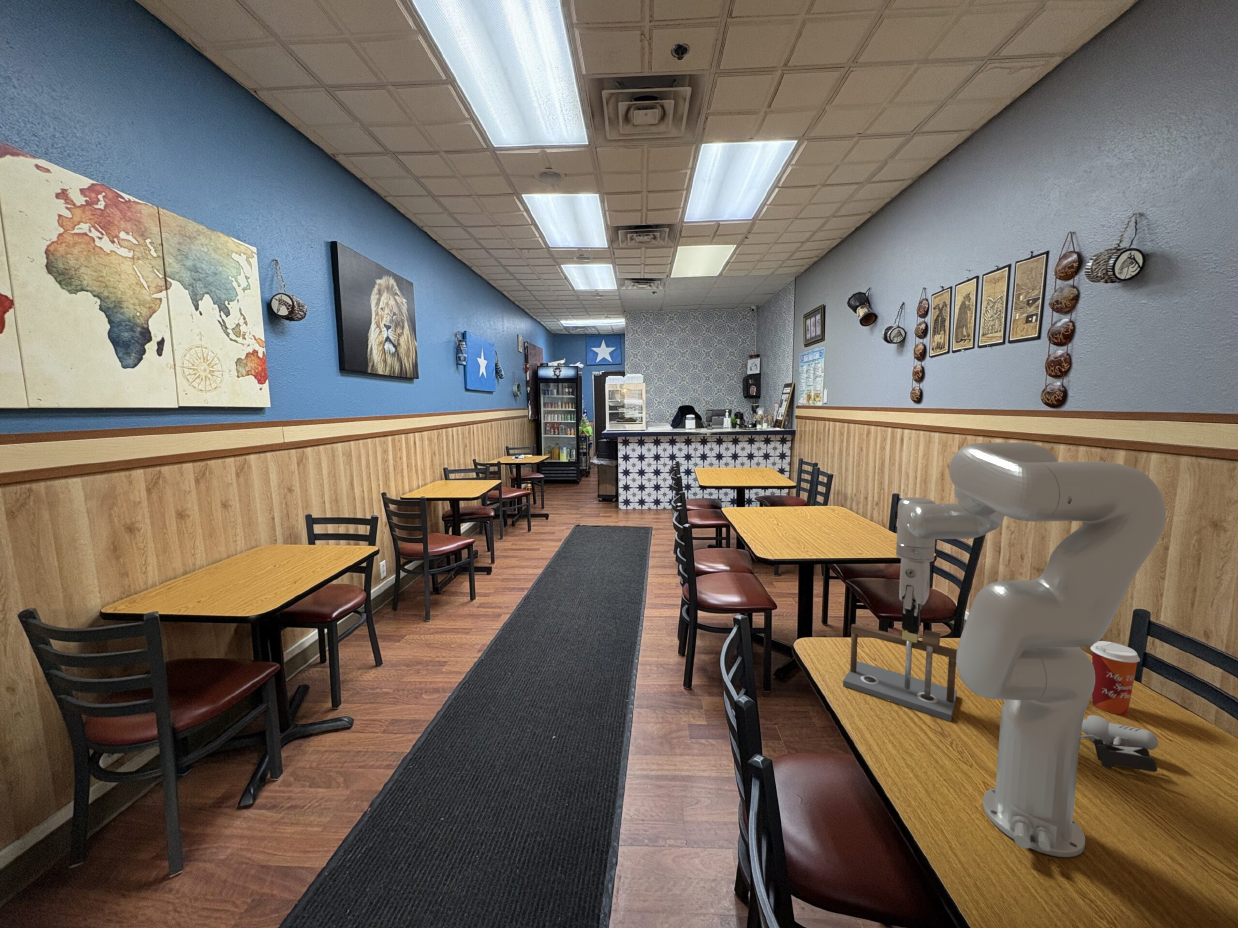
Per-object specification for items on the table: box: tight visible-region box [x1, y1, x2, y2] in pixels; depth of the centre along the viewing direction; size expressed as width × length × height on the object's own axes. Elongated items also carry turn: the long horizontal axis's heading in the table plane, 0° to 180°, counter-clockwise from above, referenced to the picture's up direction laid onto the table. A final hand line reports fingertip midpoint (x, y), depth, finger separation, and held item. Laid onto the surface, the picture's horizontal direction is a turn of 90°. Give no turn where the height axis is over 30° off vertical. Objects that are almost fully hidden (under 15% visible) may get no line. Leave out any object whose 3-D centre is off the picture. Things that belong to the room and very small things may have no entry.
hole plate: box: [842, 660, 958, 722], centre depth 116 cm, size 12×22×2 cm, turn 50°
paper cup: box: [1090, 640, 1141, 716], centre depth 107 cm, size 8×8×14 cm
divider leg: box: [901, 605, 921, 690], centre depth 113 cm, size 4×3×20 cm
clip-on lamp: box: [1080, 714, 1159, 773], centre depth 96 cm, size 12×6×18 cm
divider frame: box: [849, 623, 957, 703], centre depth 115 cm, size 4×22×14 cm, turn 50°
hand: (911, 626), depth 113 cm, fingers closed on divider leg, 3 cm apart
